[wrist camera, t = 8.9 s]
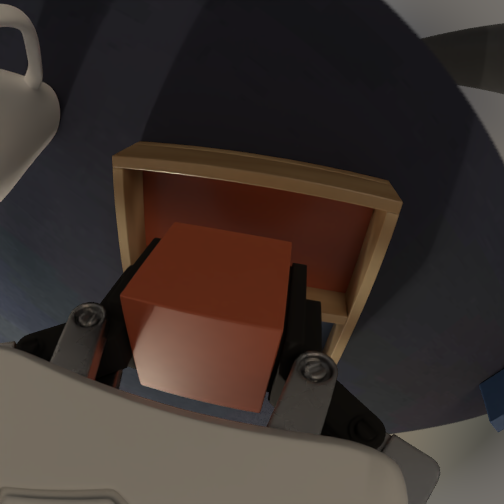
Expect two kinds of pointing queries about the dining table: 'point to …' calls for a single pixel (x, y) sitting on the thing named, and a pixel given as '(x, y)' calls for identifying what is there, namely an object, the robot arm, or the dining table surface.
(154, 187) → the tray
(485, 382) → the blue block
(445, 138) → the dining table surface
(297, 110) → the dining table surface
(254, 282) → the terracotta block
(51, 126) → the mug
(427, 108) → the dining table surface
